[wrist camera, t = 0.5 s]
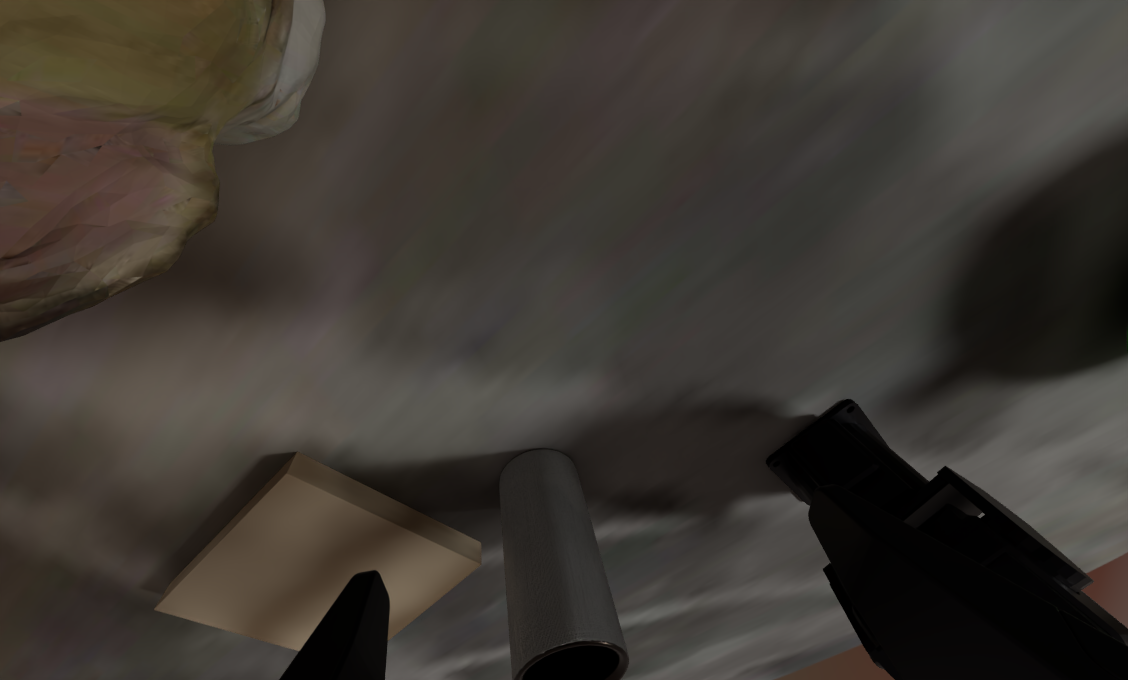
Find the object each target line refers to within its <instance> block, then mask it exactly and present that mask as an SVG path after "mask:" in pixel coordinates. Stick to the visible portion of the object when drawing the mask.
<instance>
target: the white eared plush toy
mask: <svg viewBox="0 0 1128 680" xmlns="http://www.w3.org/2000/svg"><path fill="white" fill-rule="evenodd" d="M325 22H326V15H325V8H324V2H323V0H0V342H2V341H5V340H9V339H12V338H16V337H20V336H23V335H26V334H28V333H30V332H33V331H35V330H37V329H39V328H41V327H43V326H46V325H48V324H50V323H52V322H54V321H57V320H59V319H61V318H63V317H65V316H68V315H70V314H72V313H75V312H78V311H81V310H84V309H87V308H90V307H93V306H95V305H96V304H98V303H100V302H102V301H104V300H106V299H108V298H110V297H112V296H114V295H116V294H118V293H120V292H122V291H125V290H127V289H129V288H131V287H133V286H135V285H137V284H139V283H142V282H144V281H146V280H149V279H151V278H153V277H155V276H158V275H160V274H162V273H164V272H167V271H168V270H169V269H170V268H171V266H172V265H173V264H174V263H175V262H176V261H177V260H178V259H179V257H180V255H181V253H182V251H183V249H184V247H185V244H186V242H187V241H188V240H189V239H190V238H191V237H192V236H193V235H194V234H196V233H197V232H199V231H201V230H202V229H204V228H205V227H207V226H208V225H210V224H211V223H213V222H214V221H215V218H216V215H217V210H218V200H219V185H220V182H219V179H218V176H217V174H216V172H215V164H214V157H213V154H212V149H213V144H221V145H239V144H247V143H250V142H254V141H257V140H261V139H267V138H271V137H274V136H276V135H278V134H280V133H282V132H284V131H286V130H287V129H289V128H290V127H291V126H292V125H293V124H294V123H295V122H296V121H297V120H298V117H299V112H300V104H301V100H302V98H303V96H304V94H305V93H306V91H307V89H308V87H309V85H310V83H311V81H312V79H313V76H314V74H315V71H316V69H317V66H318V63H319V56H320V46H321V39H322V33H323V29H324V25H325Z"/></svg>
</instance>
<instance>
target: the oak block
mask: <svg viewBox="0 0 1128 680" xmlns="http://www.w3.org/2000/svg"><path fill="white" fill-rule="evenodd" d="M480 565H481V542H479V541H477V540H475V539H473V538H471V537H469V536H467V535H465V534H463V533H461V532H459V531H457V530H455V529H452V528H450V527H448V526H446V525H444V524H442V523H440V522H438V521H436V520H434V519H432V518H430V517H428V516H426V515H424V514H422V513H420V512H418V511H416V510H414V509H412V508H410V507H408V506H406V505H404V504H402V503H400V502H398V501H396V500H394V499H392V498H390V497H388V496H386V495H384V494H382V493H380V492H378V491H376V490H374V489H372V488H370V487H368V486H366V485H364V484H362V483H360V482H358V481H356V480H354V479H352V478H350V477H348V476H346V475H344V474H341V473H339V472H337V471H335V470H333V469H331V468H329V467H327V466H325V465H323V464H321V463H319V462H317V461H315V460H313V459H311V458H309V457H307V456H305V455H303V454H301V453H299V452H297V453H296V454H295V455H294V456H293V457H292V458H291V459H290V460H289V461H288V462H287V463H286V464H285V465H284V466H283V467H282V468H281V469H280V470H279V471H278V472H277V473H276V474H275V475H274V476H273V477H272V478H271V479H270V480H269V482H268V483H267V484H266V485H265V486H264V487H263V488H262V489H261V490H260V491H259V492H258V493H257V494H256V495H255V496H254V497H253V498H252V499H251V500H250V501H249V502H248V503H247V504H246V505H245V506H244V507H243V508H242V509H241V511H240V512H239V513H238V514H237V515H236V516H235V517H234V518H233V519H232V520H231V521H230V522H229V523H228V524H227V525H226V526H225V527H224V528H223V529H222V530H221V531H220V532H219V533H218V534H217V535H216V536H215V537H214V538H213V540H212V541H211V542H210V543H209V544H208V545H207V546H206V547H205V548H204V549H203V550H202V551H201V552H200V553H199V554H198V555H197V556H196V557H195V558H194V559H193V560H192V561H191V562H190V563H189V564H188V565H187V566H186V567H185V569H184V570H183V571H182V572H181V573H180V574H179V575H178V576H177V577H176V578H175V579H174V580H173V581H172V582H171V583H170V584H169V586H168V587H167V589H166V591H165V592H164V594H163V596H162V597H161V599H160V600H159V602H158V604H157V605H156V607H155V608H154V610H156V611H160V612H163V613H167V614H170V615H174V616H178V617H181V618H185V619H188V620H192V621H195V622H199V623H202V624H206V625H209V626H213V627H216V628H220V629H223V630H227V631H230V632H234V633H237V634H241V635H244V636H248V637H251V638H255V639H258V640H262V641H265V642H269V643H272V644H276V645H279V646H283V647H286V648H290V649H293V650H297V651H300V650H301V648H302V647H303V645H304V644H305V643H306V641H307V640H308V638H309V637H310V635H311V634H312V633H313V631H314V630H315V628H316V627H317V626H318V624H319V623H320V621H321V620H322V619H323V617H324V616H325V614H326V613H327V611H328V610H329V609H330V607H331V606H332V604H333V603H334V602H335V600H336V599H337V597H338V596H339V595H340V593H341V592H342V590H343V589H344V588H345V586H346V585H347V583H348V582H349V580H350V579H351V578H352V577H353V576H354V575H355V574H357V573H360V572H365V571H371V570H377V571H378V572H379V573H380V575H381V578H382V580H383V582H384V585H385V587H386V589H387V592H388V594H389V598H390V615H389V629H388V640H390V639H391V638H392V637H393V636H395V635H396V634H397V633H398V632H399V631H401V630H402V629H403V628H404V627H406V626H407V625H408V624H409V623H410V622H412V621H413V620H414V619H415V618H417V617H418V616H419V615H420V614H421V613H423V612H424V611H425V610H426V609H428V608H429V607H430V606H431V605H432V604H434V603H435V602H436V601H437V600H439V599H440V598H441V597H442V596H443V595H445V594H446V593H447V592H448V591H450V590H451V589H452V588H453V587H454V586H456V585H457V584H458V583H459V582H461V581H462V580H463V579H464V578H465V577H467V576H468V575H469V574H470V573H472V572H473V571H474V570H475V569H476V568H478V567H479V566H480Z"/></svg>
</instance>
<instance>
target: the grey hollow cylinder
mask: <svg viewBox="0 0 1128 680" xmlns="http://www.w3.org/2000/svg"><path fill="white" fill-rule="evenodd" d="M499 494H500V508H501V523H502V537H503V552H504V566H505V581H506V595H507V610H508V624H509V639H510V653H511V668H512V680H620V679H621V678H622V677H623V676H624V674H625V672H626V670H627V668H628V664H629V656H628V652H627V648H626V645H625V641H624V638H623V634H622V630H621V627H620V623H619V620H618V616H617V612H616V609H615V605H614V602H613V598H612V594H611V591H610V587H609V584H608V580H607V577H606V573H605V569H604V566H603V562H602V559H601V555H600V551H599V548H598V544H597V541H596V537H595V533H594V530H593V526H592V523H591V519H590V516H589V512H588V508H587V505H586V501H585V498H584V494H583V490H582V487H581V483H580V480H579V476H578V473H577V470H576V467H575V465H574V463H573V462H572V460H571V459H570V458H569V457H567V456H566V455H564V454H563V453H560V452H558V451H554V450H549V449H539V450H532V451H529V452H525V453H523V454H521V455H519V456H517V457H515V458H514V459H513V460H511V461H510V462H509V463H508V464H507V465H506V466H505V468H504V469H503V471H502V473H501V475H500V480H499Z"/></svg>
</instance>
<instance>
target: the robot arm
mask: <svg viewBox="0 0 1128 680" xmlns="http://www.w3.org/2000/svg"><path fill="white" fill-rule="evenodd" d="M766 464H767V465H768V467H769V468H770V469H771V470H772V471H773V472H774V473H775V474H776V475H777V476H778V477H779V478H780V479H781V480H782V481H783V482H784V483H785V484H786V485H787V486H789V487H790V488H791V489H792V490H793V491H794V492H795V493H796V494H797V495H798V496H799V497H800V498H801V499H802V500H803V501H804V502H805V503H806V504H807V505H810V509H809V513H808V516H809V521H810V524H811V526H812V528H813V530H814V532H815V534H816V536H817V538H818V540H819V541H820V543H821V545H822V547H823V549H824V551H825V553H826V555H827V557H828V558H829V560H830V562H831V563H829V564H828V565H827V566H826V567H825V568H823V571H824V573H825V575H826V576H827V578H828V580H829V582H830V586H831V588H832V590H833V591H834V593H835V595H836V597H837V599H838V601H839V602H840V604H841V606H842V608H843V610H844V611H845V613H846V615H847V617H848V619H849V621H850V622H851V624H852V626H853V628H854V630H855V632H856V633H857V635H858V637H859V639H860V641H861V642H862V644H863V646H864V648H865V649H866V651H867V652H868V654H869V655H870V658H871V659H872V661H873V662H874V663H875V664H876V665H877V666H878V667H879V668H882V669H884V670H886V671H887V672H888V673H889V674H890V675H891V676H892V677H893V678H894V679H895V680H1128V629H1127V628H1126V627H1125V626H1124V625H1123V624H1122V623H1120V622H1119V621H1118V620H1117V619H1116V618H1114V617H1113V616H1112V615H1111V614H1109V613H1108V612H1107V611H1106V610H1105V609H1103V608H1102V607H1101V606H1100V605H1098V604H1097V603H1096V602H1095V601H1094V600H1092V599H1091V598H1090V597H1089V596H1087V595H1086V594H1085V593H1084V592H1083V591H1081V590H1082V589H1084V588H1085V587H1087V586H1088V585H1090V584H1091V583H1093V582H1094V581H1093V580H1092V579H1091V578H1090V577H1089V576H1088V575H1087V574H1086V573H1084V572H1083V571H1082V570H1081V569H1080V568H1079V567H1077V566H1076V565H1075V564H1074V563H1073V562H1072V561H1070V560H1069V559H1068V558H1067V557H1066V556H1065V555H1063V554H1062V553H1061V552H1060V551H1059V550H1058V549H1056V548H1055V547H1054V546H1053V545H1052V544H1051V543H1050V542H1048V541H1047V540H1046V539H1045V538H1044V537H1043V536H1041V535H1040V534H1039V533H1038V532H1037V531H1036V530H1034V529H1033V528H1032V527H1031V526H1030V525H1029V524H1027V523H1026V522H1025V521H1023V520H1022V519H1021V518H1019V517H1018V516H1017V515H1015V514H1014V513H1013V512H1012V511H1010V510H1009V509H1008V508H1006V507H1005V506H1004V505H1002V504H1001V503H1000V502H998V501H997V500H996V499H994V498H993V497H992V496H990V495H989V494H988V493H986V492H985V491H984V490H982V489H981V488H979V487H977V486H976V485H974V484H973V483H971V482H970V481H968V480H967V479H965V478H964V477H962V476H960V475H959V474H957V473H956V472H954V471H953V470H951V469H950V468H948V467H947V466H944V467H943V468H942V469H941V470H939V471H938V472H937V473H938V475H937V476H936V477H934V478H933V479H932V480H931V481H930V482H929V481H928V480H927V479H925V478H924V477H923V476H922V475H921V474H920V473H918V472H917V471H916V470H915V469H914V468H913V467H911V466H910V465H909V464H908V463H907V462H905V461H904V460H903V459H902V458H901V457H900V456H898V455H897V454H896V453H895V452H894V451H892V450H891V449H890V448H889V447H888V445H887V444H886V442H885V441H884V440H883V438H882V437H881V436H880V434H879V433H878V431H877V430H876V429H875V427H874V426H873V425H872V423H871V422H870V421H869V419H868V418H867V416H866V415H865V414H864V412H863V411H862V410H861V408H860V407H859V406H858V404H857V403H855V402H854V401H853V400H851V399H847V400H845V401H843V402H842V403H840V404H839V405H837V406H836V407H835V408H833V409H832V410H831V411H829V412H828V413H827V414H825V415H824V416H823V417H821V418H820V419H819V420H817V421H816V422H815V423H813V424H812V425H811V426H809V427H808V428H807V429H805V430H804V431H803V432H801V433H800V434H799V435H797V436H796V437H795V438H793V439H792V440H790V441H789V442H788V443H786V444H785V445H784V446H782V447H781V448H780V449H778V450H777V451H776V452H774V453H773V454H772V455H770V456H769V457H768V458H767V460H766ZM982 512H983V513H984V514H985V515H984V516H983V517H981V518H979V517H977V516H978V515H980V514H981V513H982ZM389 615H390V598H389V594H388V592H387V589H386V587H385V585H384V582H383V580H382V578H381V575H380V573H379V572H378V571H377V570H371V571H365V572H360V573H357V574H355V575H354V576H353V577H352V578H351V579H350V580H349V582H348V583H347V585H346V586H345V588H344V589H343V590H342V592H341V593H340V595H339V596H338V597H337V599H336V600H335V602H334V603H333V604H332V606H331V607H330V609H329V610H328V611H327V613H326V614H325V616H324V617H323V619H322V620H321V621H320V623H319V624H318V626H317V627H316V628H315V630H314V631H313V633H312V634H311V635H310V637H309V638H308V640H307V641H306V643H305V644H304V645H303V647H302V648H301V650H300V651H299V652H298V654H297V655H296V657H295V658H294V659H293V661H292V662H291V664H290V665H289V667H288V668H287V669H286V671H285V672H284V674H283V675H282V676H281V678H280V679H279V680H385V670H386V656H387V642H388V629H389Z"/></svg>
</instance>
